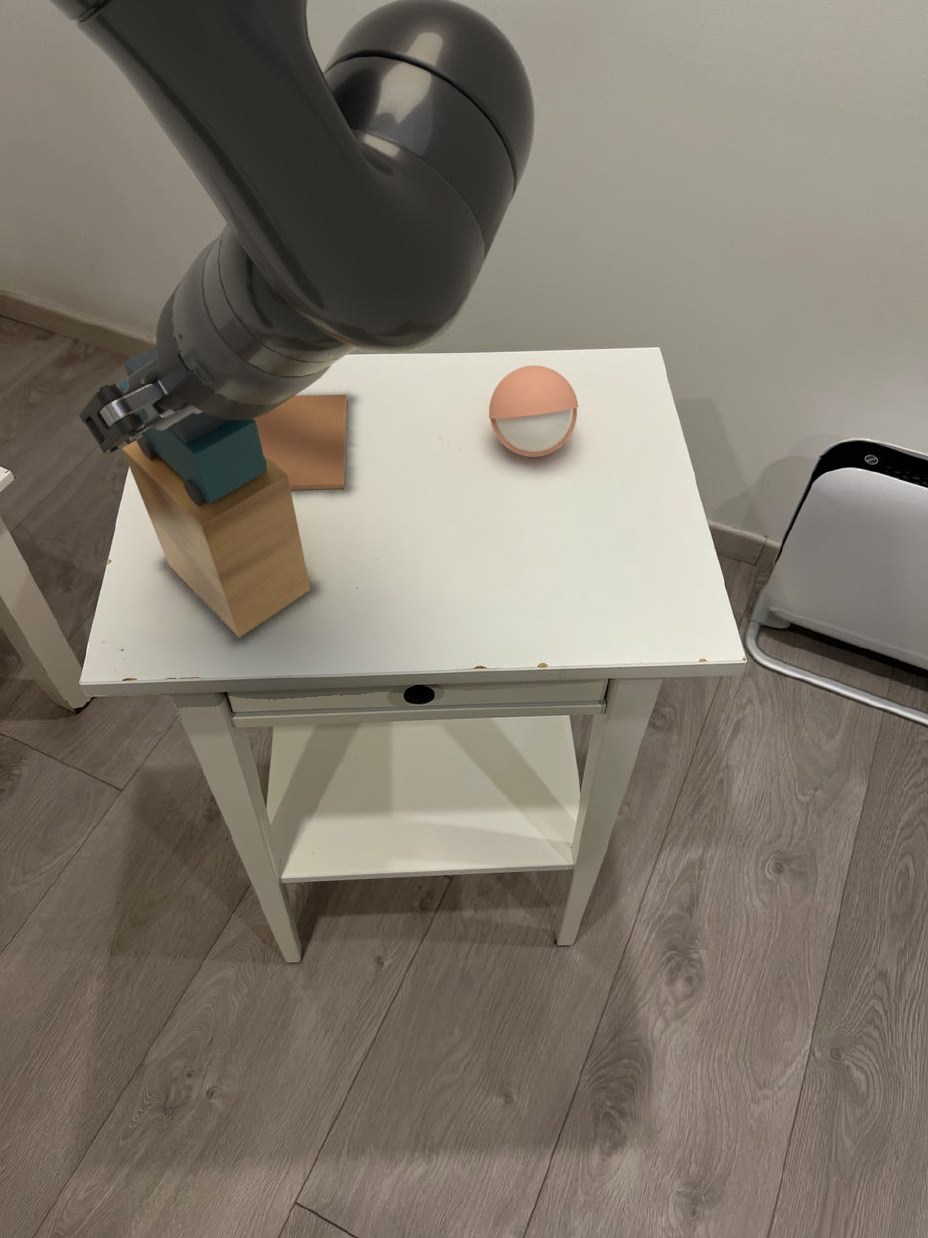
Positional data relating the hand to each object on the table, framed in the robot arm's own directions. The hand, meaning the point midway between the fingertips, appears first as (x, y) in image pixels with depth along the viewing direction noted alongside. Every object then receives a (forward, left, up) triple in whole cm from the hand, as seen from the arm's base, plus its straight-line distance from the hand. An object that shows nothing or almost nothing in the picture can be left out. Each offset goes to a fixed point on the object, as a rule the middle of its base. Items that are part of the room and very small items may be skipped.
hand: (180, 397), depth 56 cm
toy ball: (+27, -13, -18) cm, 35 cm away
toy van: (0, -1, -5) cm, 5 cm away
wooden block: (0, -1, -18) cm, 18 cm away
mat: (+14, +6, -18) cm, 24 cm away
